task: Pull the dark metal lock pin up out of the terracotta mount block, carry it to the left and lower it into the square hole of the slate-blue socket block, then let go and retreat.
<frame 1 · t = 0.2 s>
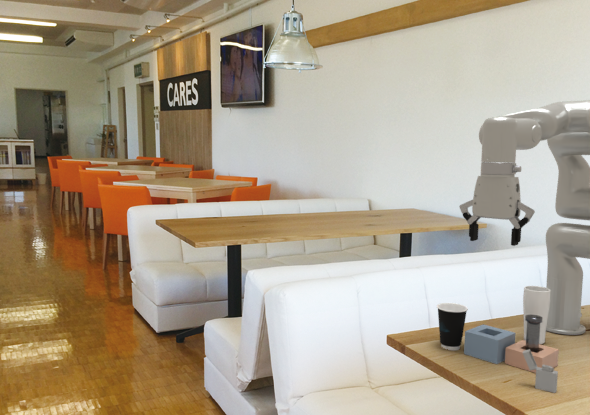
hand: (493, 242, 128), 30 cm above the table, tool pointing down, fingers open, 9 cm apart
lighter: (538, 388, 119), on the table
lock pin: (532, 340, 132), in the mount block
drinking glass: (534, 342, 149), on the table
socket block: (489, 354, 139), on the table
dixie cup: (450, 347, 144), on the table
mount block: (531, 364, 133), on the table
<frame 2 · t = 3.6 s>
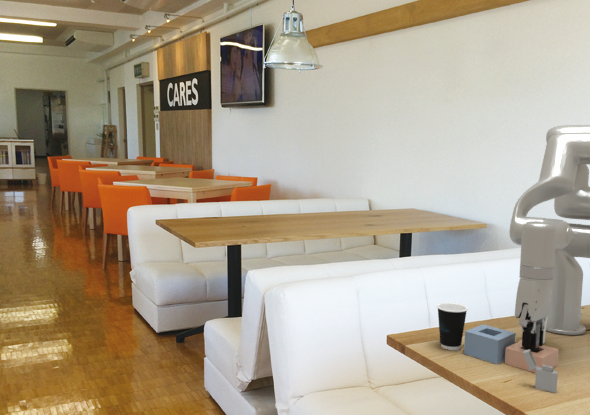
hand: (532, 345, 132), 5 cm above the table, tool pointing down, fingers closed on lock pin, 3 cm apart
lock pin: (532, 340, 132), in the mount block, touching gripper
everything else where it was.
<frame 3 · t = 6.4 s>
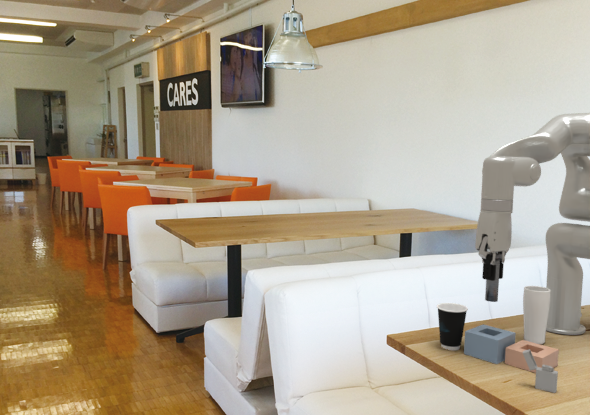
hand: (492, 278, 137), 20 cm above the table, tool pointing down, fingers closed on lock pin, 3 cm apart
lock pin: (492, 277, 137), point 20 cm above the table, touching gripper
everything else where it was.
when the fingers open (7 cm above the table, at t = 9.1 s): lock pin stays where it is, resting in socket block.
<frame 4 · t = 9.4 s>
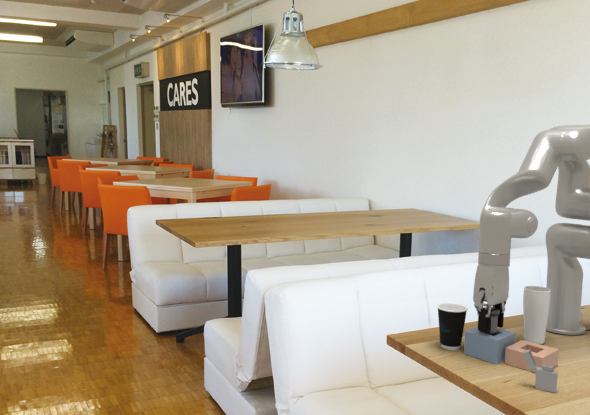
hand: (490, 328, 138), 7 cm above the table, tool pointing down, fingers open, 5 cm apart
lock pin: (490, 331, 138), in the socket block
everything else where it was.
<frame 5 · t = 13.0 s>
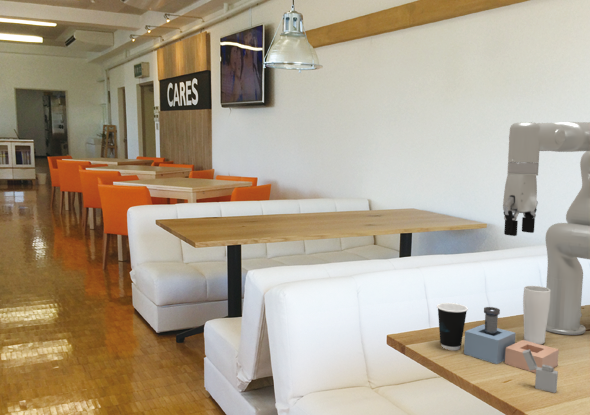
hand: (519, 233, 144), 30 cm above the table, tool pointing down, fingers open, 9 cm apart
nothing on the table moved.
at the end: lock pin 0.2 cm off-centre on the socket block, point 6.0 cm above the socket block's base; lock pin tilted 0°; the gripper is holding nothing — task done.
